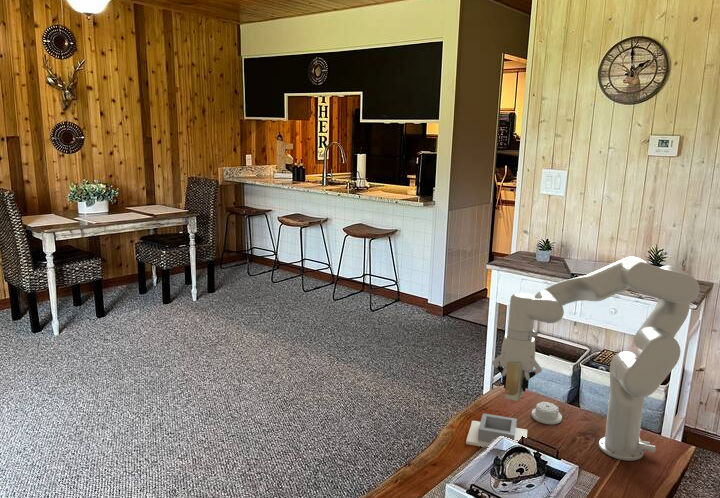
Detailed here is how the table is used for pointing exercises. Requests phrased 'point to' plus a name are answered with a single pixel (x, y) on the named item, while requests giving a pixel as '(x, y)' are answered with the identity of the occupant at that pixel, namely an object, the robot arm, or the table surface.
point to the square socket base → (493, 430)
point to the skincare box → (514, 381)
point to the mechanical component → (547, 413)
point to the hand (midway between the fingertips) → (514, 387)
